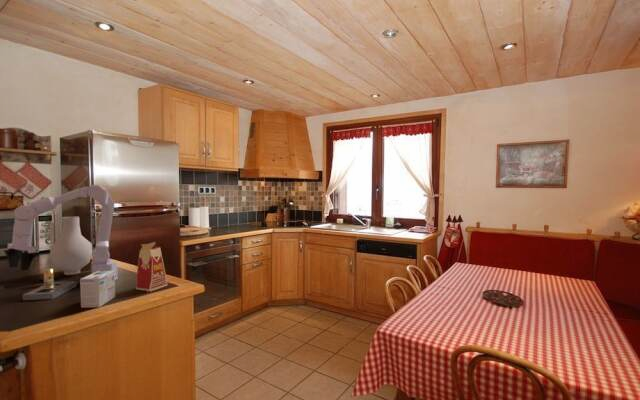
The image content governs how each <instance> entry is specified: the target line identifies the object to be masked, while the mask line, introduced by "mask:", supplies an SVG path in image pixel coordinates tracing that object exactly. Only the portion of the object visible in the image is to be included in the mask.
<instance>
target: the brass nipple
mask: <svg viewBox="0 0 640 400" xmlns="http://www.w3.org/2000/svg"><path fill="white" fill-rule="evenodd" d="M54 275H55V274H54V268H53V267H51V268H50V267H48V268H44V269H43V285H46V284H48V283H50V282H55V280H54V277H55V276H54Z"/></svg>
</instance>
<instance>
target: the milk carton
mask: <svg viewBox="0 0 640 400" xmlns="http://www.w3.org/2000/svg"><path fill="white" fill-rule="evenodd" d="M162 254H163V253H162V249H161V246H159V245H156V241H153V242H150V243H146V244H145V243H143V244H141V249H140V250H139V255H138V261H137V270H136V271H137V272H136V285H135V286H136V287H135V289H136V290H139V291H145V290H146V292H149V291H150V292H152V291H155V290H156V291H157V290H158V289H161V288H164V287H166V286H168V279H167V274H166V269H165V263H164V259H163V255H162Z"/></svg>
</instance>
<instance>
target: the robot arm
mask: <svg viewBox="0 0 640 400" xmlns="http://www.w3.org/2000/svg"><path fill="white" fill-rule="evenodd" d="M88 196H89V198H91V199H93V200H95V201H97V203H98V204H100V205H101V210H100V218H99V225H98V230H97V231H98V232H97V237H96V242H95V247H94V248H92V256H91V257H92V259H93V260H92V261H90V263H91V266H90V267H91V274H92V273H94V272H97V271H115V281H116V280H118V279H119V277H118V264H117V262H116V261H111V258H110V256H111V253H110V251H109V247H110V246H109V245H110V243H109V242H110V237H111V236H110V235H111V229H112V223H113V215H114V210H115V201H114V200H113V198H112V196H111V195H110V193H109V191H108V190H107V189H106V188H104V186H102V185H99V184H91V185H90V186H84V187H78V188H76V189H74V190H71V191H69V192H66V193H63V194H60V195H58V196H55V197H52V196H41V197H40V198H39V199H38V200H35V201H32V202H30V201H28V202H26V204H25V205H20V206H18V207H17V208H15V210H14V217H15V218H14V223H13V229H12V230H13V231H12V240H11V243H7V249H4V250H3V251H4V253H5V255H6V258H7V261H8V265H9V266H8V267H9V268H17V267H18V265H19V261H20V270H21V271H28V270H29V269H30V267H31V266H32V265H31V264H32V262H33V261H34V258H35V257H36V256H37V255H38V252H36V247H34V246H33V245H32V239H33V229H34V223H33V221H34V218H33V217H34V216H40V215H43V214H45V213H48V212H50V211H53V210H55V209H57V207H58V205H60V204H62V203H65V202H69V201H71V200H74V199H77V198H87V197H88Z"/></svg>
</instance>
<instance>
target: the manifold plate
mask: <svg viewBox="0 0 640 400" xmlns="http://www.w3.org/2000/svg"><path fill="white" fill-rule="evenodd" d="M77 285H78V283H77V281H76V280H75V281H74V280H72V281H54V282H50V283H48V284H46V285H44V284H43V285H41V286H39V287H37V288H34V289H33V290H30V291H29V292H25V293H24V294H22V301H23V302H24V301H40V300H41V301H42V300H43V301H44V300H54V299H55V298H57V297H59V296H61V295H63V294H65V293H67V292H68V291H70V290H73V289H74V288H76V287H77Z"/></svg>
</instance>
